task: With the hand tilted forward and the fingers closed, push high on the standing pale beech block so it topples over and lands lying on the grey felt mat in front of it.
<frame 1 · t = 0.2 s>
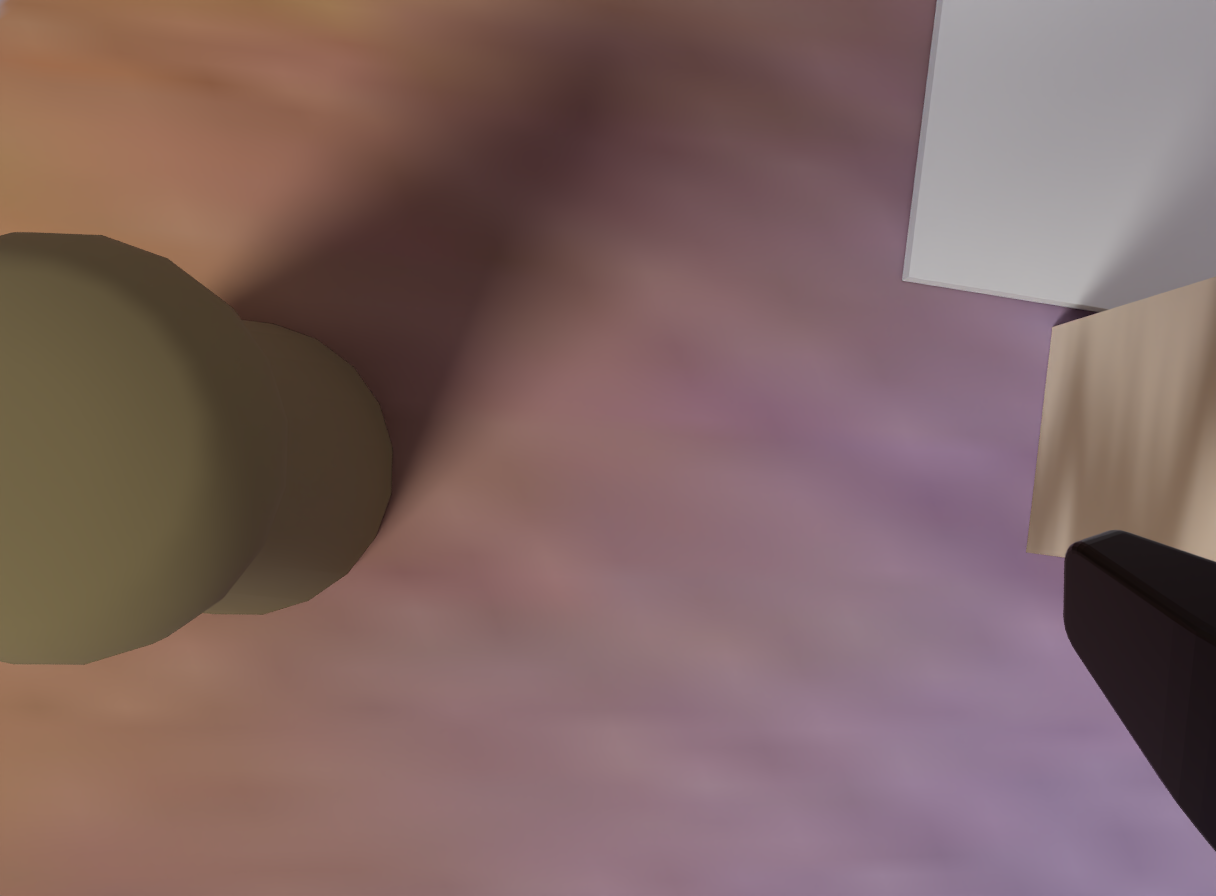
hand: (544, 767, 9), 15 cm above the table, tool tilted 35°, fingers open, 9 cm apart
cork: (246, 467, 23), on the table
block: (1146, 455, 25), on the table
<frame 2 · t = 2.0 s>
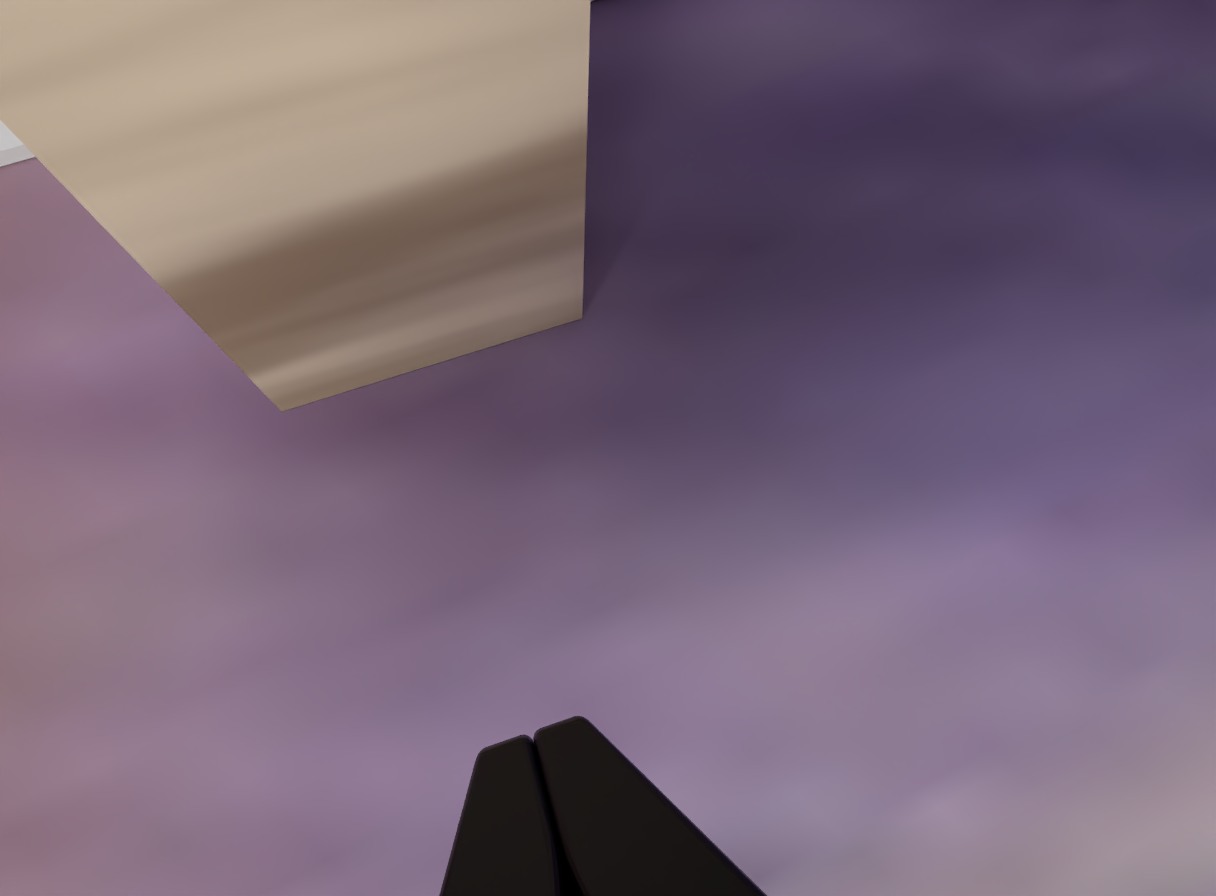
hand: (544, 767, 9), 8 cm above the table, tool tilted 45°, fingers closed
block: (390, 226, 18), on the table
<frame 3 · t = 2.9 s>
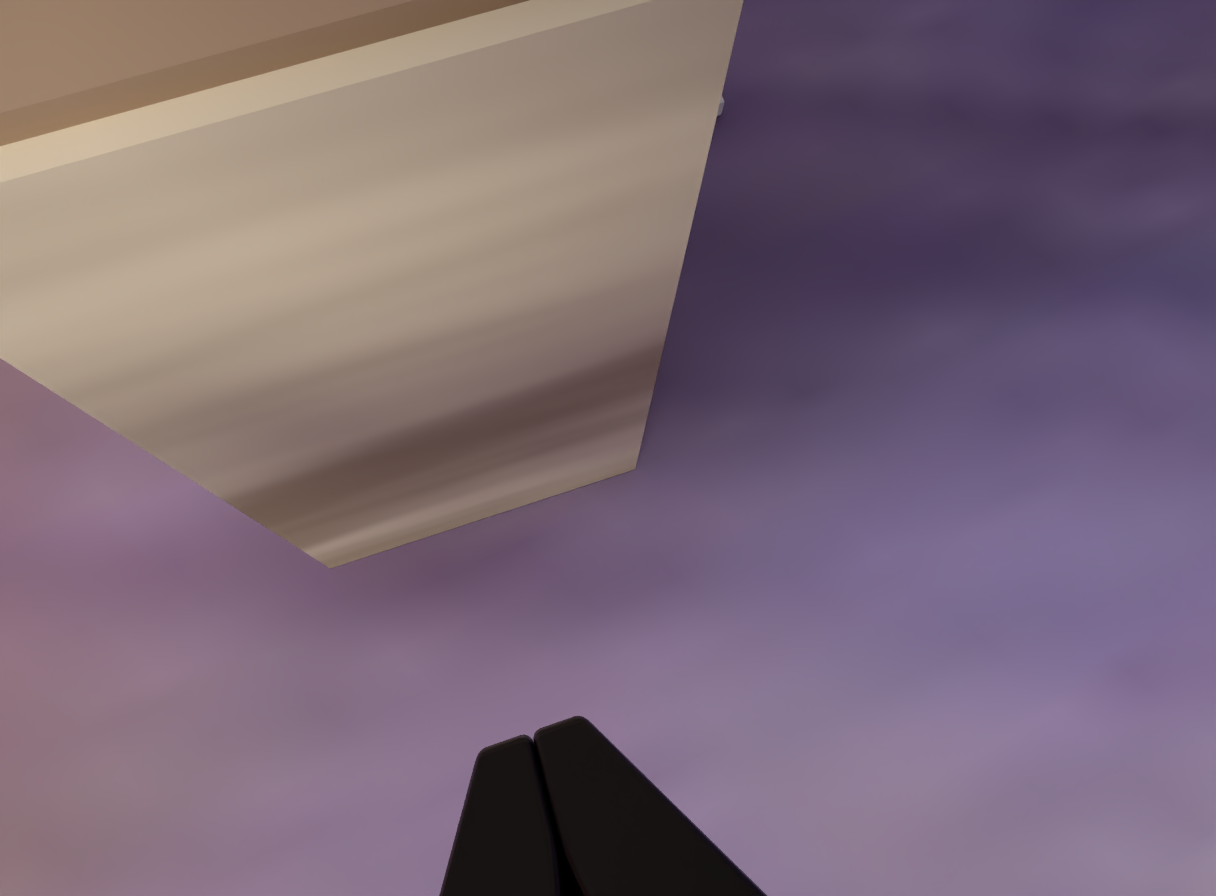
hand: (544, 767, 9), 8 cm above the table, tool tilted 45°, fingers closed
block: (439, 373, 18), on the table
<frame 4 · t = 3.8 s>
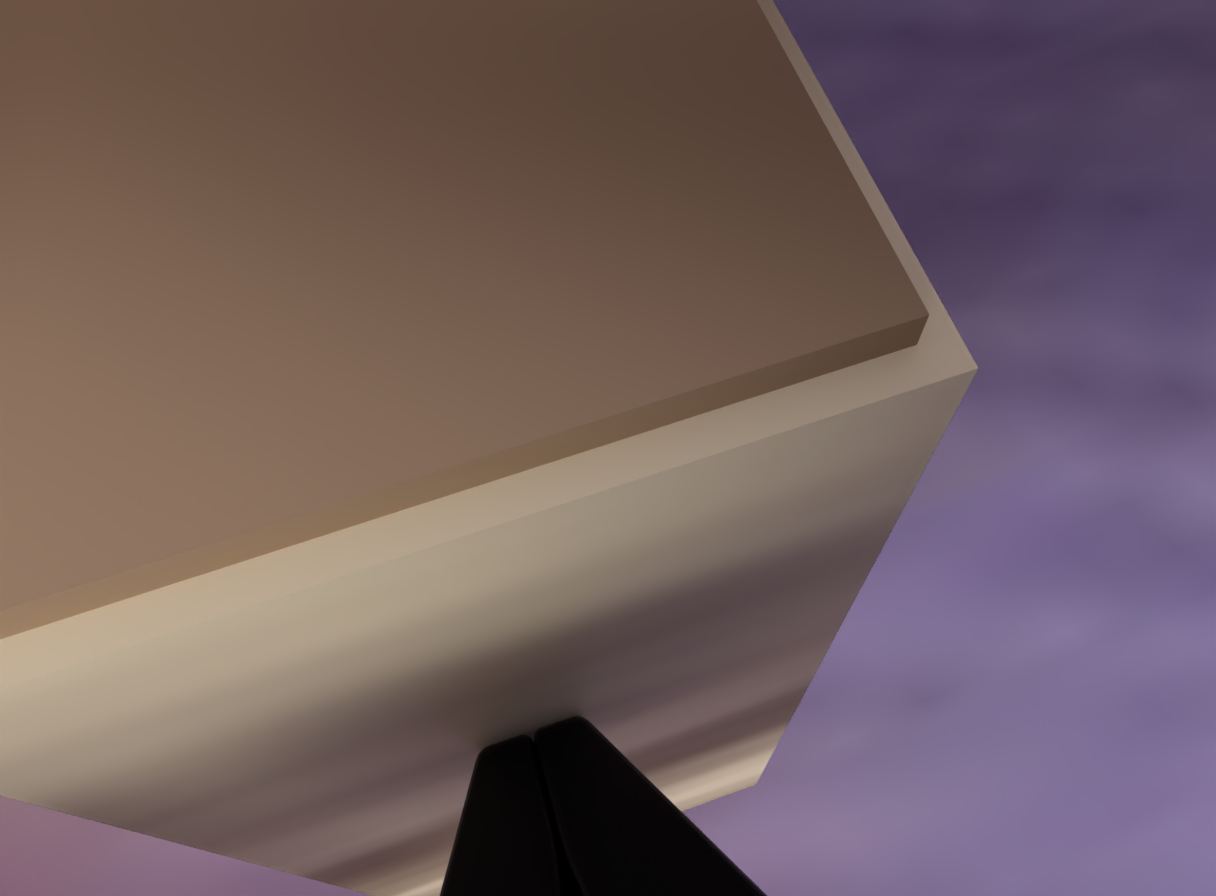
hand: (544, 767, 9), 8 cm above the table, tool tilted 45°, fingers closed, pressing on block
block: (536, 676, 16), on the table, tilted 12°, touching gripper
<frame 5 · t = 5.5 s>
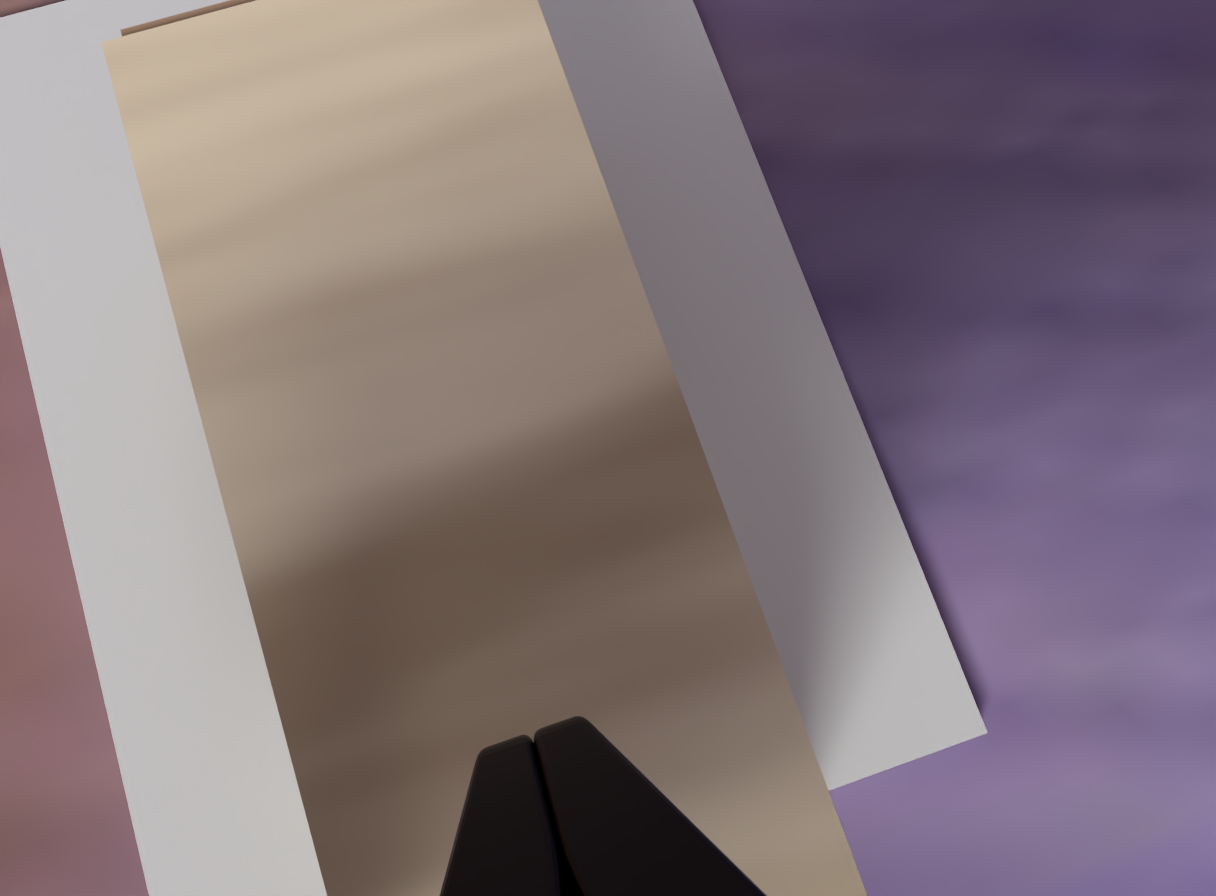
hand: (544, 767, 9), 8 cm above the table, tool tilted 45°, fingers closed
mat: (439, 367, 18), on the table
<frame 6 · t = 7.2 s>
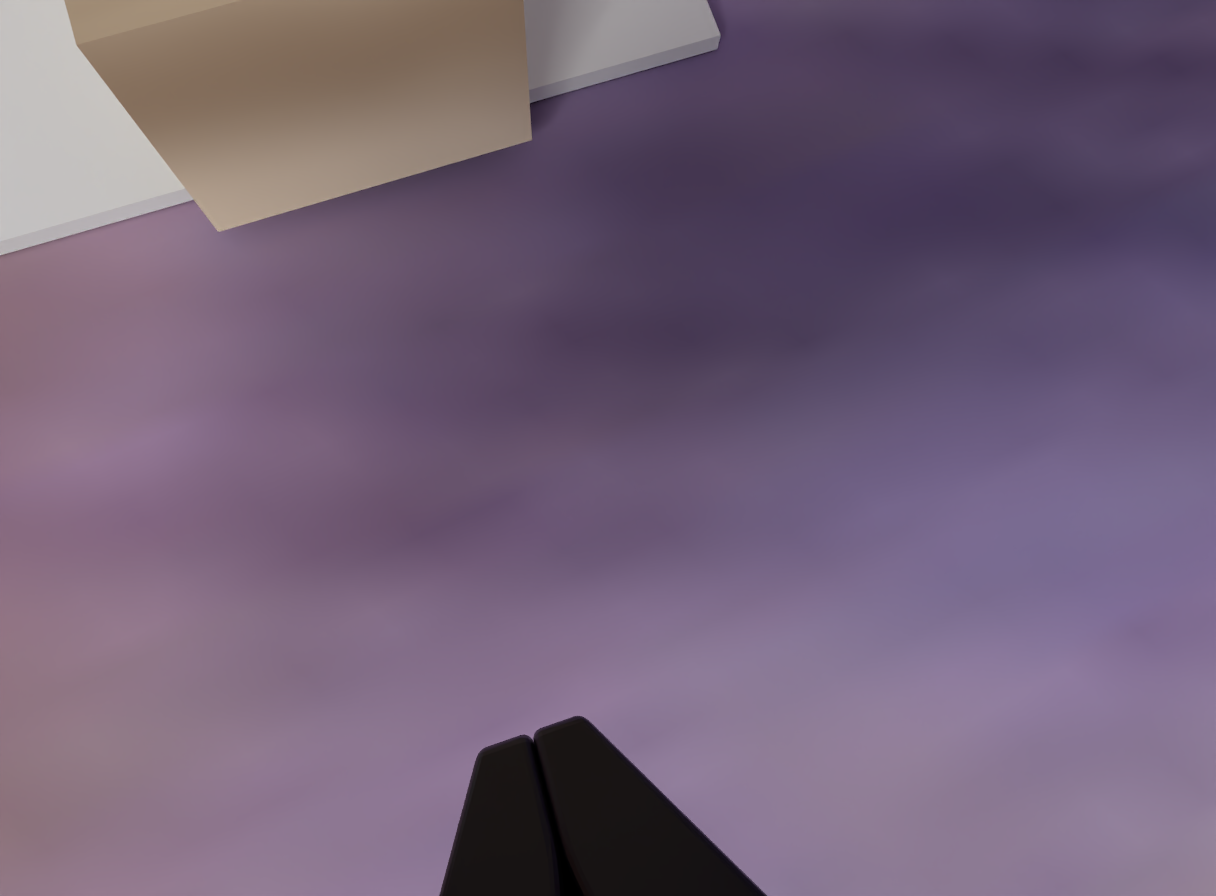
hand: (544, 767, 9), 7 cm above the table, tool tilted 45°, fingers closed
block: (346, 101, 15), point 3 cm above the table, tilted 90°, touching mat
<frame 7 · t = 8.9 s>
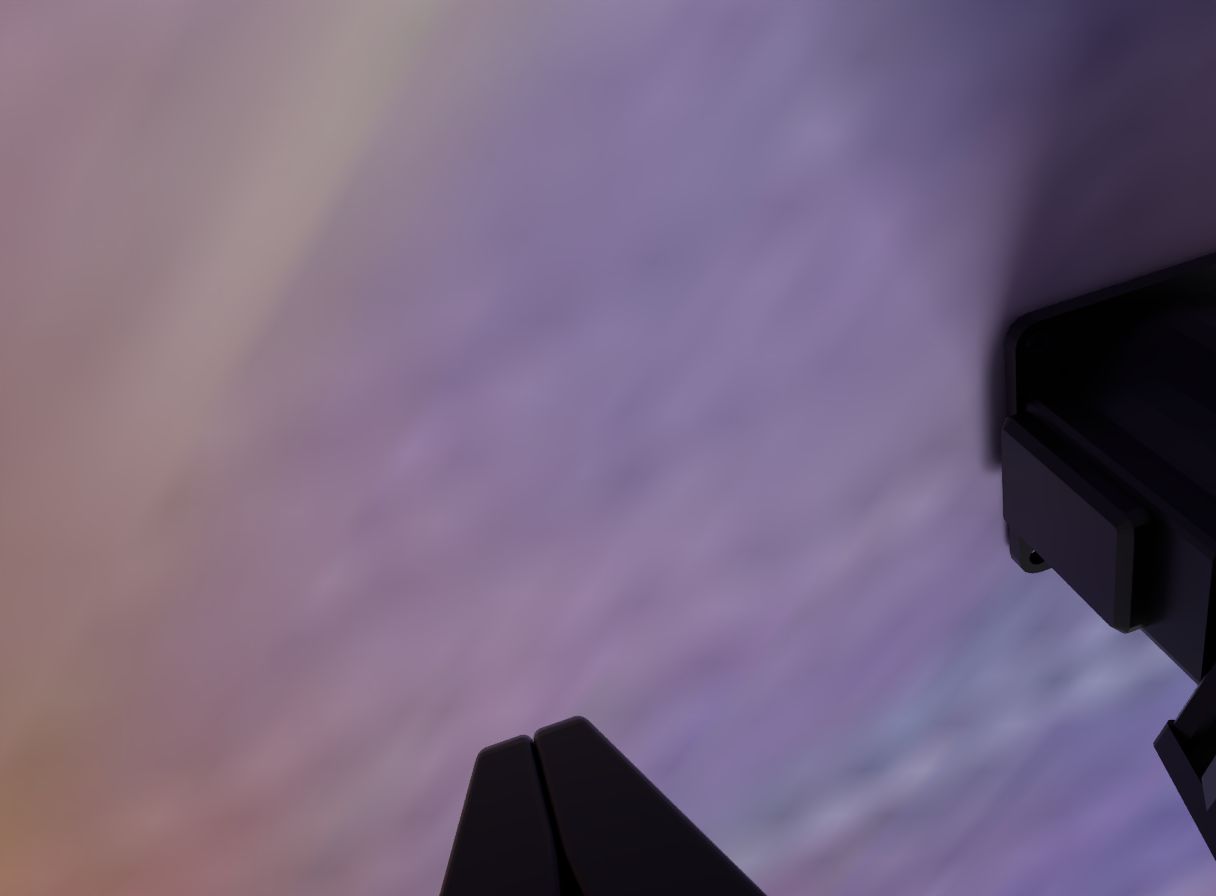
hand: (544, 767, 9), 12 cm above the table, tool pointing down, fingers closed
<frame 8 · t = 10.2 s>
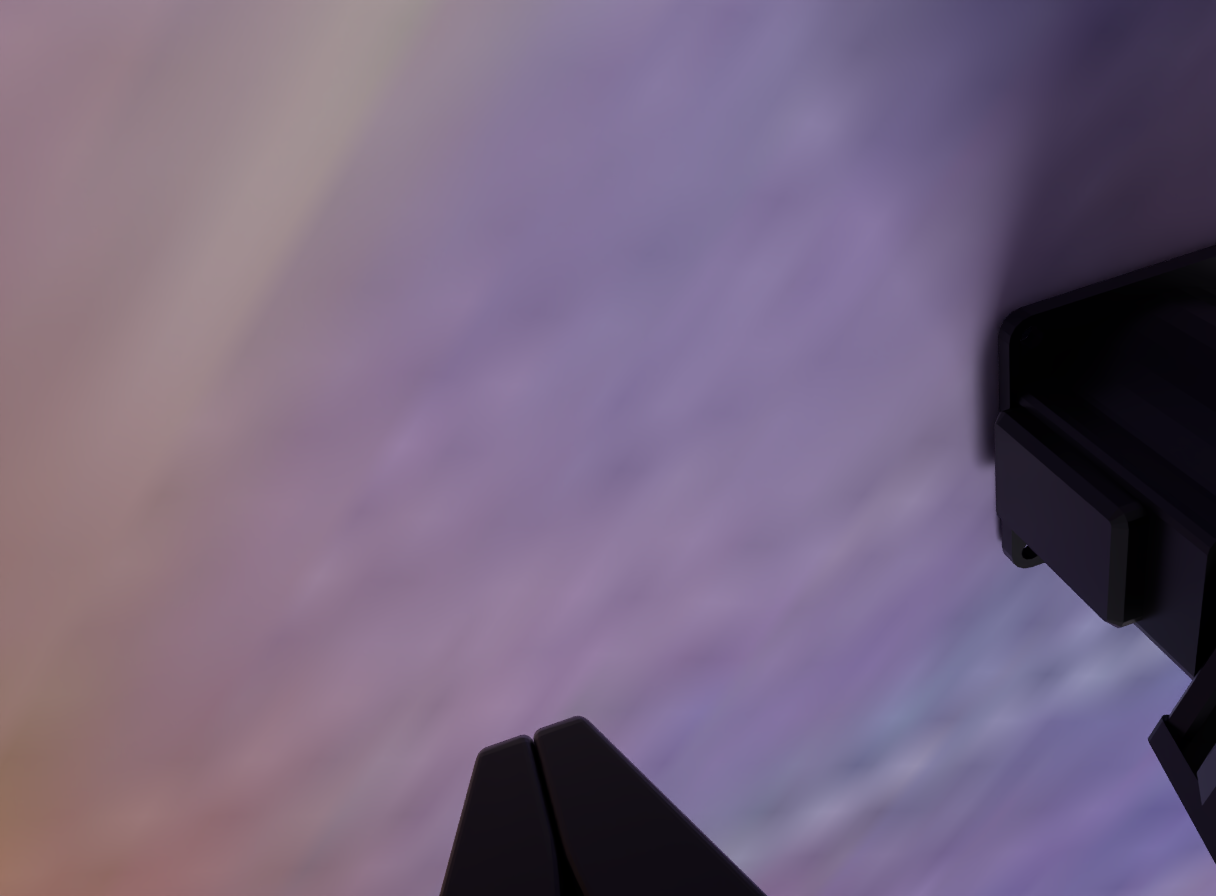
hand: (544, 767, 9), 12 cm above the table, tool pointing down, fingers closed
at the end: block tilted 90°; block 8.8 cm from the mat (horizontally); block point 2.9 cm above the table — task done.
